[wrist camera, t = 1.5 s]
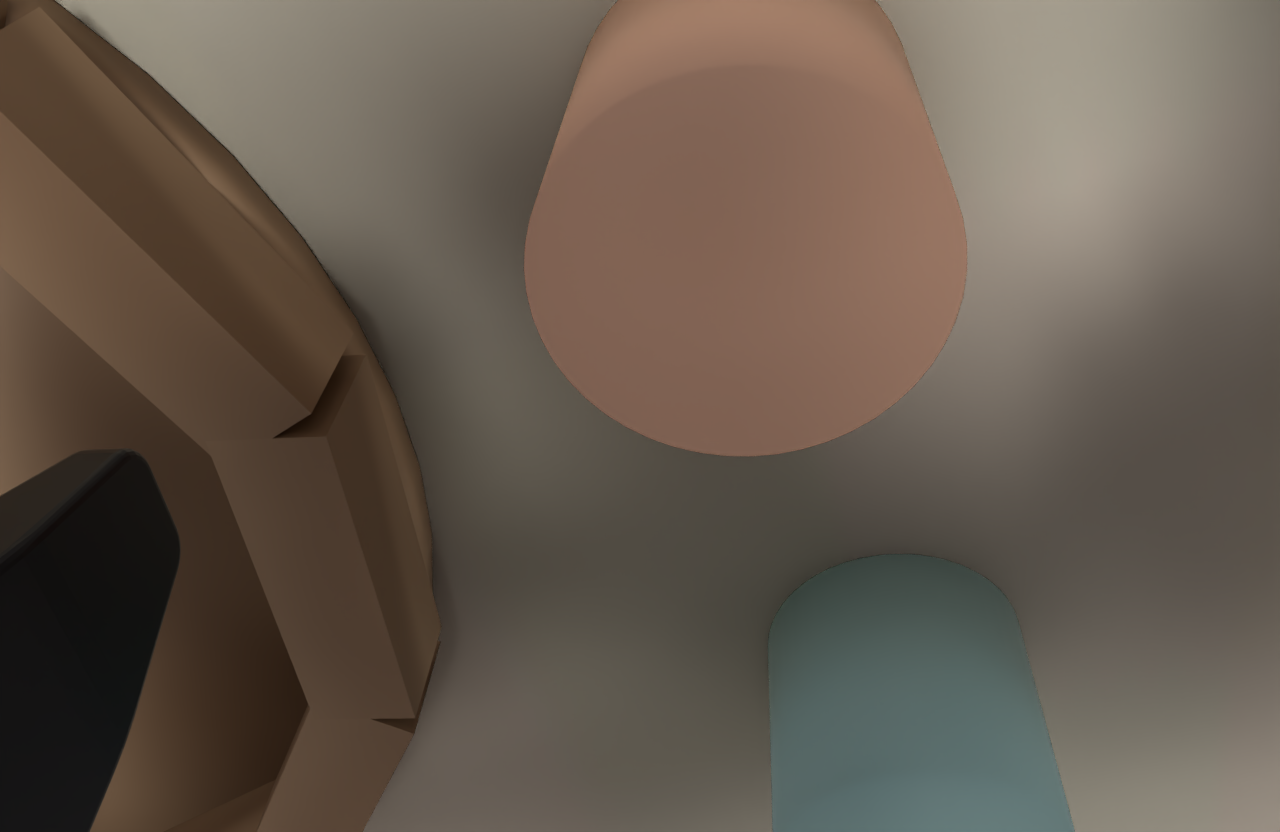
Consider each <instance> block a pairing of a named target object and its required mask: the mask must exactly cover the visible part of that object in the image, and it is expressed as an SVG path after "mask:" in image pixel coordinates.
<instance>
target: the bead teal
mask: <svg viewBox="0 0 1280 832" xmlns="http://www.w3.org/2000/svg"><path fill="white" fill-rule="evenodd" d="M768 668H769V707H770V746H771V785H772V824H773V832H1075V830H1074V826H1073V823H1072V819H1071V815H1070V811H1069V808H1068V804H1067V800H1066V797H1065V793H1064V789H1063V785H1062V782H1061V778H1060V774H1059V771H1058V767H1057V763H1056V759H1055V756H1054V752H1053V748H1052V744H1051V741H1050V737H1049V733H1048V730H1047V726H1046V722H1045V718H1044V715H1043V711H1042V707H1041V704H1040V700H1039V696H1038V692H1037V689H1036V685H1035V681H1034V678H1033V674H1032V670H1031V666H1030V663H1029V659H1028V655H1027V652H1026V648H1025V644H1024V640H1023V637H1022V633H1021V629H1020V626H1019V622H1018V619H1017V616H1016V614H1015V611H1014V609H1013V607H1012V605H1011V604H1010V602H1009V600H1008V599H1007V598H1006V596H1005V595H1004V594H1003V593H1002V592H1001V591H1000V589H999V588H997V587H996V586H995V585H994V584H993V583H992V582H990V581H989V580H988V579H986V578H985V577H983V576H982V575H980V574H979V573H977V572H975V571H973V570H971V569H969V568H967V567H965V566H963V565H960V564H957V563H954V562H951V561H948V560H944V559H940V558H935V557H931V556H923V555H915V554H888V555H877V556H871V557H865V558H860V559H856V560H852V561H849V562H845V563H842V564H840V565H837V566H835V567H832V568H829V569H827V570H826V571H824V572H822V573H820V574H818V575H816V576H814V577H813V578H811V579H810V580H808V581H807V582H805V583H804V584H802V585H801V586H800V587H799V588H798V589H796V590H795V591H794V592H793V593H792V594H791V595H790V596H789V597H788V598H787V600H786V601H785V602H784V603H783V604H782V606H781V607H780V609H779V610H778V612H777V614H776V615H775V618H774V620H773V622H772V625H771V628H770V633H769V637H768Z"/></svg>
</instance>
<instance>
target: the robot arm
mask: <svg viewBox="0 0 1280 832" xmlns="http://www.w3.org/2000/svg"><path fill="white" fill-rule="evenodd" d="M180 555H181V543H180V538H179V533H178V530H177V527H176V525H175V523H174V520H173V518H172V516H171V514H170V511H169V509H168V507H167V504H166V502H165V500H164V497H163V495H162V493H161V491H160V488H159V486H158V484H157V481H156V479H155V477H154V475H153V472H152V470H151V468H150V466H149V464H148V462H147V460H146V459H145V458H144V457H143V456H142V455H141V454H140V453H139V452H137V451H135V450H133V449H129V448H117V449H89V450H82V451H78V452H76V453H74V454H72V455H70V456H68V457H67V458H65V459H63V460H61V461H60V462H58V463H56V464H54V465H53V466H51V467H49V468H48V469H46V470H44V471H42V472H41V473H39V474H37V475H35V476H34V477H32V478H30V479H28V480H27V481H25V482H23V483H21V484H20V485H18V486H16V487H14V488H13V489H11V490H9V491H7V492H6V493H4V494H2V495H0V832H90V830H91V828H92V826H93V823H94V821H95V818H96V816H97V814H98V811H99V809H100V806H101V804H102V802H103V799H104V797H105V794H106V792H107V790H108V787H109V785H110V782H111V780H112V778H113V775H114V773H115V770H116V767H117V765H118V762H119V760H120V757H121V754H122V752H123V749H124V747H125V744H126V741H127V738H128V735H129V732H130V729H131V726H132V723H133V720H134V717H135V714H136V711H137V707H138V704H139V701H140V697H141V694H142V690H143V687H144V684H145V680H146V677H147V673H148V670H149V667H150V663H151V660H152V656H153V653H154V649H155V646H156V643H157V639H158V636H159V632H160V629H161V626H162V622H163V619H164V615H165V612H166V609H167V605H168V602H169V598H170V595H171V592H172V588H173V585H174V581H175V578H176V575H177V571H178V568H179V563H180Z"/></svg>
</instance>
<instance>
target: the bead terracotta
mask: <svg viewBox="0 0 1280 832" xmlns="http://www.w3.org/2000/svg"><path fill="white" fill-rule="evenodd" d="M524 274H525V284H526V294H527V298H528V301H529V305H530V309H531V313H532V317H533V320H534V322H535V325H536V327H537V330H538V332H539V335H540V337H541V340H542V342H543V343H544V345H545V347H546V349H547V350H548V352H549V354H550V355H551V357H552V359H553V361H554V362H555V364H556V365H557V366H558V368H559V369H560V370H561V371H562V373H563V374H564V375H565V377H566V378H567V379H568V381H569V382H570V383H571V384H572V385H573V386H574V387H575V388H576V389H577V390H578V391H579V392H580V393H581V394H582V395H583V396H584V397H585V398H586V399H587V400H588V401H590V402H591V403H592V404H593V405H595V406H596V407H597V408H598V409H600V410H601V411H602V412H603V413H605V414H606V415H607V416H609V417H611V418H612V419H614V420H616V421H617V422H619V423H620V424H622V425H624V426H625V427H627V428H629V429H631V430H633V431H635V432H637V433H639V434H641V435H644V436H646V437H648V438H650V439H653V440H655V441H658V442H661V443H664V444H667V445H670V446H673V447H676V448H681V449H685V450H689V451H694V452H698V453H705V454H713V455H721V456H762V455H773V454H781V453H786V452H791V451H796V450H801V449H805V448H808V447H812V446H815V445H818V444H822V443H825V442H828V441H830V440H833V439H835V438H837V437H840V436H842V435H844V434H847V433H849V432H851V431H853V430H855V429H857V428H859V427H860V426H862V425H864V424H866V423H867V422H869V421H871V420H873V419H875V418H876V417H877V416H879V415H880V414H881V413H883V412H884V411H886V410H887V409H888V408H890V407H891V406H892V405H894V404H895V403H896V402H897V401H898V400H900V399H901V398H902V397H903V396H904V395H905V394H906V393H907V392H908V391H909V390H910V389H911V388H912V387H914V386H915V384H916V383H917V382H918V381H919V380H920V378H921V377H922V376H923V375H924V374H925V373H926V371H927V370H928V369H929V368H930V367H931V365H932V364H933V362H934V361H935V359H936V357H937V356H938V354H939V353H940V351H941V350H942V348H943V346H944V345H945V343H946V341H947V339H948V337H949V334H950V332H951V330H952V328H953V326H954V324H955V321H956V319H957V315H958V312H959V309H960V305H961V302H962V299H963V295H964V288H965V281H966V274H967V241H966V235H965V228H964V222H963V217H962V214H961V210H960V207H959V204H958V201H957V198H956V195H955V192H954V189H953V186H952V183H951V181H950V178H949V175H948V172H947V169H946V167H945V164H944V161H943V158H942V155H941V153H940V150H939V147H938V144H937V141H936V139H935V136H934V133H933V130H932V127H931V125H930V122H929V119H928V116H927V113H926V111H925V108H924V105H923V102H922V99H921V97H920V94H919V91H918V88H917V85H916V83H915V80H914V77H913V74H912V71H911V69H910V66H909V63H908V60H907V57H906V55H905V52H904V49H903V46H902V44H901V41H900V39H899V37H898V35H897V33H896V31H895V29H894V27H893V25H892V23H891V22H890V20H889V19H888V17H887V16H886V14H885V13H884V12H883V10H882V9H881V7H880V6H879V4H878V3H877V2H876V1H875V0H618V1H617V2H616V3H615V4H614V5H613V6H612V8H611V9H610V10H609V12H608V13H607V14H606V16H605V17H604V19H603V20H602V22H601V23H600V24H599V26H598V27H597V29H596V31H595V33H594V35H593V37H592V39H591V41H590V43H589V45H588V47H587V50H586V53H585V55H584V58H583V61H582V64H581V67H580V70H579V73H578V76H577V79H576V82H575V85H574V88H573V91H572V94H571V97H570V100H569V103H568V106H567V109H566V112H565V115H564V118H563V121H562V123H561V126H560V129H559V132H558V135H557V138H556V141H555V144H554V147H553V150H552V153H551V156H550V159H549V162H548V165H547V168H546V171H545V174H544V177H543V180H542V183H541V186H540V189H539V192H538V195H537V198H536V201H535V204H534V207H533V210H532V213H531V216H530V220H529V225H528V230H527V235H526V241H525V255H524Z"/></svg>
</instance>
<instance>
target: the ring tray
mask: <svg viewBox="0 0 1280 832" xmlns="http://www.w3.org/2000/svg"><path fill="white" fill-rule="evenodd" d="M117 448H129V449H133V450H135V451H137V452H139V453H140V454H141V455H142V456H143V457H144V458H145V459H146V460H147V462H148V464H149V466H150V468H151V470H152V472H153V475H154V477H155V479H156V481H157V484H158V486H159V488H160V491H161V493H162V495H163V497H164V500H165V502H166V504H167V507H168V509H169V511H170V514H171V516H172V518H173V520H174V523H175V525H176V527H177V530H178V533H179V538H180V543H181V555H180V563H179V568H178V571H177V575H176V578H175V581H174V585H173V588H172V592H171V595H170V598H169V602H168V605H167V609H166V612H165V615H164V619H163V622H162V626H161V629H160V632H159V636H158V639H157V643H156V646H155V649H154V653H153V656H152V660H151V663H150V667H149V670H148V673H147V677H146V680H145V684H144V687H143V690H142V694H141V697H140V701H139V704H138V707H137V711H136V714H135V717H134V720H133V723H132V726H131V729H130V732H129V735H128V738H127V741H126V744H125V747H124V749H123V752H122V754H121V757H120V760H119V762H118V765H117V767H116V770H115V773H114V775H113V778H112V780H111V782H110V785H109V787H108V790H107V792H106V794H105V797H104V799H103V802H102V804H101V806H100V809H99V811H98V814H97V816H96V818H95V821H94V823H93V826H92V828H91V830H90V832H363V830H364V828H365V826H366V824H367V822H368V820H369V818H370V816H371V815H372V813H373V811H374V809H375V807H376V805H377V803H378V801H379V799H380V798H381V796H382V794H383V792H384V790H385V788H386V786H387V784H388V782H389V781H390V779H391V777H392V775H393V773H394V771H395V769H396V767H397V765H398V763H399V762H400V760H401V758H402V756H403V754H404V752H405V750H406V748H407V746H408V745H409V743H410V741H411V739H412V737H413V735H414V733H415V729H416V726H417V722H418V719H419V715H420V712H421V708H422V705H423V701H424V698H425V694H426V691H427V687H428V684H429V680H430V677H431V673H432V670H433V666H434V663H435V659H436V656H437V652H438V649H439V645H440V641H438V638H439V635H440V631H441V628H442V625H441V622H440V618H439V614H438V611H437V607H436V604H435V600H434V596H433V565H432V531H431V525H430V520H429V514H428V509H427V503H426V498H425V492H424V487H423V481H422V476H421V470H420V466H419V463H418V460H417V458H416V455H415V452H414V449H413V446H412V443H411V440H410V437H409V434H408V431H407V429H406V426H405V423H404V420H403V417H402V414H401V411H400V408H399V405H398V402H397V400H396V397H395V394H394V392H393V390H392V388H391V386H390V384H389V383H388V381H387V379H386V377H385V375H384V373H383V371H382V369H381V367H380V365H379V363H378V361H377V359H376V357H375V355H374V353H373V351H372V349H371V347H370V345H369V343H368V341H367V339H366V337H365V335H364V333H363V331H362V329H361V327H360V325H359V323H358V321H357V319H356V318H355V316H354V315H353V313H352V312H351V310H350V309H349V307H348V306H347V304H346V303H345V301H344V300H343V298H342V297H341V295H340V294H339V292H338V291H337V289H336V288H335V286H334V285H333V283H332V282H331V280H330V279H329V277H328V276H327V274H326V273H325V271H324V270H323V268H322V267H321V265H320V264H319V262H318V261H317V259H316V258H315V256H314V255H313V253H312V252H311V250H310V249H309V247H308V246H307V244H306V243H305V241H304V240H303V238H302V237H301V236H300V235H299V234H298V233H297V231H296V230H295V229H294V228H293V227H292V225H291V224H290V223H289V222H288V221H287V219H286V218H285V217H284V216H283V215H282V214H281V212H280V211H279V210H278V209H277V208H276V206H275V205H274V204H273V203H272V202H271V201H270V199H269V198H268V197H267V196H266V195H265V193H264V192H263V191H262V190H261V189H260V188H259V186H258V185H257V184H256V183H255V182H254V180H253V179H252V178H251V177H250V176H249V175H248V173H247V172H246V171H245V170H244V169H243V167H242V166H241V165H240V164H239V163H238V162H237V160H236V159H235V158H234V157H233V156H232V155H231V154H230V153H229V152H228V151H227V150H226V149H225V148H224V147H223V146H222V145H221V144H220V143H219V142H218V141H217V140H216V139H215V138H214V137H212V136H211V135H210V134H209V133H208V132H207V131H206V130H205V129H204V128H203V127H202V126H201V125H200V124H199V123H198V122H197V121H196V120H195V119H194V118H193V117H192V116H191V115H190V114H189V113H187V112H186V111H185V110H184V109H183V108H182V107H181V106H180V105H179V104H178V103H177V102H176V101H175V100H174V99H173V98H172V97H171V96H170V95H169V94H168V93H167V92H166V91H165V90H164V89H162V88H161V87H160V86H159V85H158V84H157V83H156V82H155V81H154V80H153V79H152V78H151V77H150V76H149V75H148V74H147V73H145V72H144V71H143V70H141V69H140V68H139V67H138V66H136V65H135V64H134V63H133V62H131V61H130V60H129V59H127V58H126V57H125V56H124V55H122V54H121V53H120V52H119V51H117V50H116V49H115V48H113V47H112V46H111V45H110V44H108V43H107V42H106V41H105V40H103V39H102V38H101V37H99V36H98V35H97V34H96V33H94V32H93V31H92V30H91V29H89V28H88V27H87V26H85V25H84V24H83V23H82V22H80V21H79V20H78V19H77V18H75V17H74V16H73V15H71V14H70V13H69V12H68V11H66V10H65V9H64V8H63V7H61V6H60V5H59V4H57V3H56V2H55V1H54V0H0V495H2V494H4V493H6V492H7V491H9V490H11V489H13V488H14V487H16V486H18V485H20V484H21V483H23V482H25V481H27V480H28V479H30V478H32V477H34V476H35V475H37V474H39V473H41V472H42V471H44V470H46V469H48V468H49V467H51V466H53V465H54V464H56V463H58V462H60V461H61V460H63V459H65V458H67V457H68V456H70V455H72V454H74V453H76V452H78V451H82V450H89V449H117Z"/></svg>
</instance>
